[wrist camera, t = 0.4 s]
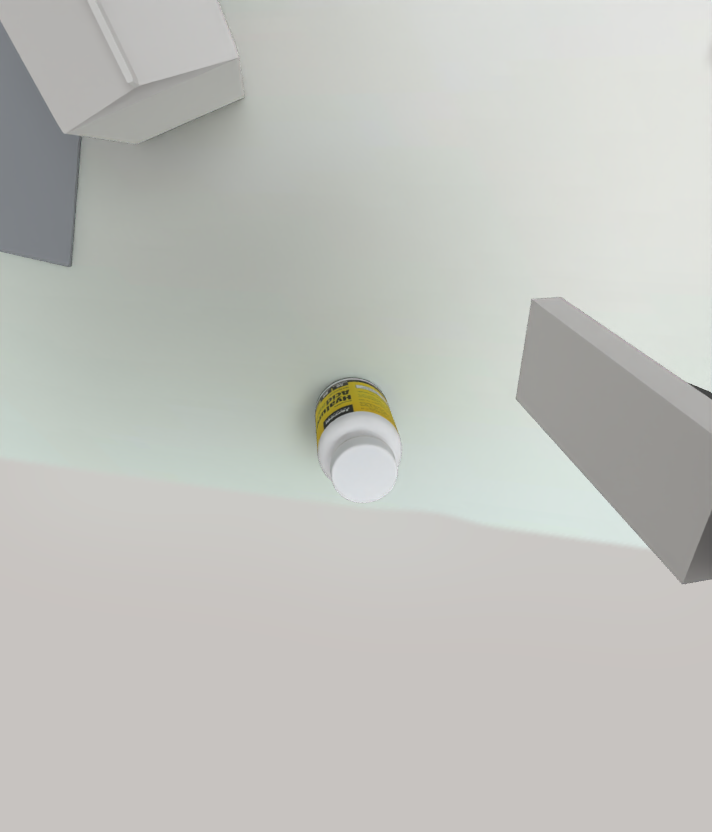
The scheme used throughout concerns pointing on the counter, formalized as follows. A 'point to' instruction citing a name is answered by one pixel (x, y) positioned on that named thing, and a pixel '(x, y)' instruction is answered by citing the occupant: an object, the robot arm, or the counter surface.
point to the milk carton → (126, 62)
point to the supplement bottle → (357, 440)
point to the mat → (34, 168)
